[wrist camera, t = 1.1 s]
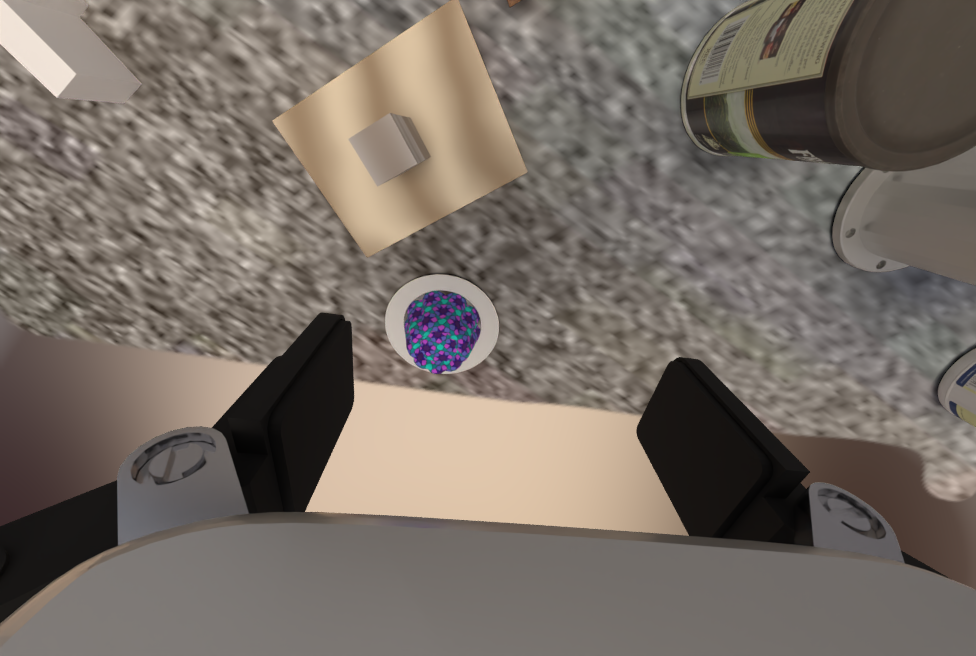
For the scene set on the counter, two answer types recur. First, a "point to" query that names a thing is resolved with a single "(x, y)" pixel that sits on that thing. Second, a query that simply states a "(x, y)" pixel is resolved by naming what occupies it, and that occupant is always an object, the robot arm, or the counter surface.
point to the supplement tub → (960, 388)
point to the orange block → (512, 2)
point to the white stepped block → (64, 50)
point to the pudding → (441, 324)
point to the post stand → (406, 133)
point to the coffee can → (837, 82)
